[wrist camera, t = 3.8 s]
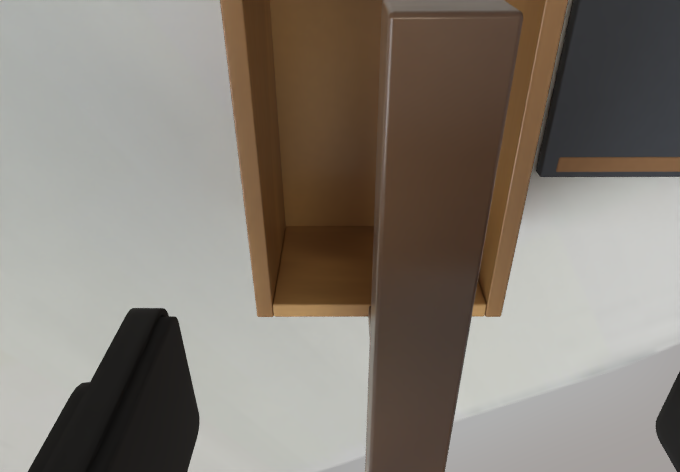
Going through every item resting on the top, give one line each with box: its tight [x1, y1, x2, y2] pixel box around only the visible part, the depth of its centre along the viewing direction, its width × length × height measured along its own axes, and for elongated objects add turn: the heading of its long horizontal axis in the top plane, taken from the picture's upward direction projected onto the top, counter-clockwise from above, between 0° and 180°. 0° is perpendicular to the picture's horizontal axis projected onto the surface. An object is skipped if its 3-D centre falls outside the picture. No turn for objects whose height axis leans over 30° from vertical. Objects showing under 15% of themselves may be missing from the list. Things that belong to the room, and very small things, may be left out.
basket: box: [220, 0, 568, 472], centre depth 15 cm, size 9×12×14 cm
